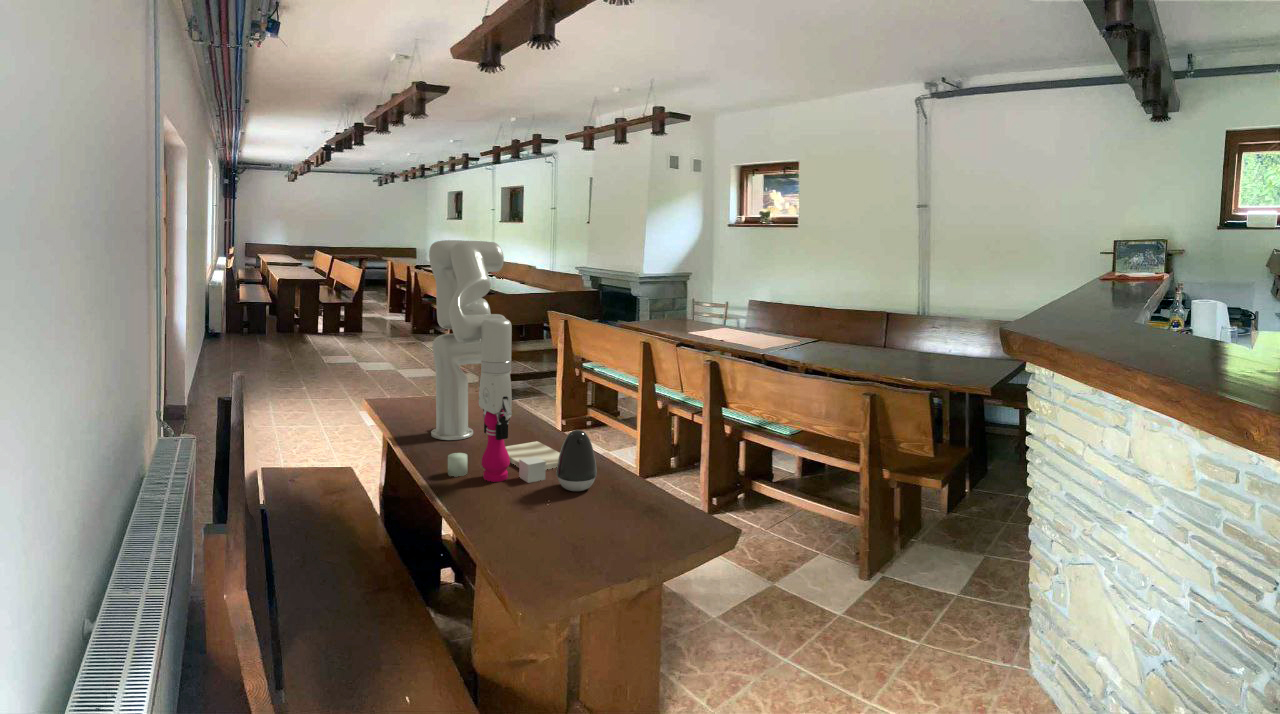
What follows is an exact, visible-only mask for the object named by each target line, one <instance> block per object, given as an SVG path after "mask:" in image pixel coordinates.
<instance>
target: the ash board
mask: <svg viewBox="0 0 1280 714" xmlns="http://www.w3.org/2000/svg"><path fill="white" fill-rule="evenodd" d="M505 447H506V450H507V452H508V454H509V458H510V464H512V465H513V464H514V465H513V466H515V465H516V466H515V467H517V468H519V459H524V458H530V457H535V456H536V457H538V458H540V459H542V460H544V461H546V471H547V469H548V470H552V468H553V469H557V468H556V467H557V463H558V458H559V455H560V452H559V451H557V450H555V449H554V448H552V447H550V446H548V445H546V444H544V443H542V442H540V441H537V440H536V441H531V442H525V443H519V444H512V445H507V446H506V445H505Z"/></svg>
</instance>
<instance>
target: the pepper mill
mask: <svg viewBox="0 0 1280 714" xmlns="http://www.w3.org/2000/svg"><path fill="white" fill-rule="evenodd" d="M500 412H504V411H503V410H500ZM502 416H504V414H503V415H500V419H501V417H502ZM484 422H485V424H486V426H487V428H486V433H485V434H487V444H486V448H485V450H484V453H483V454H482V457H481V466H482V468H483V469H484V471H483V479H485V480H484V481H486V480H487V481H486V482H490V481H491V482H492V483H499V482H500V483H501V482H504V481H506V480H508V478H509V472H508V470H507V469H508V468H509V466H510V464H511V463H510V458H509V454H508V452H507V450H506V447H505V446H506V445H505V444H506V443H505V439H502V440H496V424H497V418H496V414H492V413H490V412H487V413H486V414H485V417H484V416H483V423H484ZM491 482H490V483H491Z"/></svg>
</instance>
